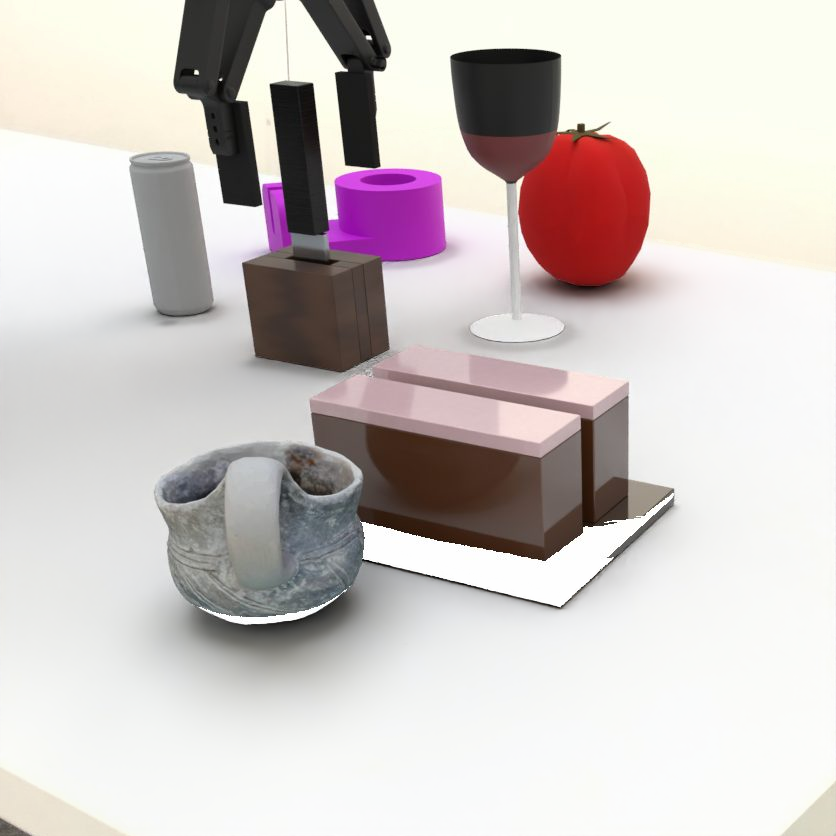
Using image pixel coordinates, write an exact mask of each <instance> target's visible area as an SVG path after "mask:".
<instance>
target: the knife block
mask: <svg viewBox="0 0 836 836" xmlns="http://www.w3.org/2000/svg"><path fill="white" fill-rule="evenodd" d="M329 251H330V260H331V265H323V264H316V263H310V262H303V261H296V260H294V256H293V248H292V245H290V246H287V247H284V248H282V249H279V250H276V251H274V252H272V251H271V252H268V253H266V254H263V255H259V256H256V257H254V258H251V259H249V260H245V261H242V262H241V267H242V274H243V280H244V288H245V294H246V302H247V308H248V315H249V322H250V329H251V335H252V345H253V349H254V356H255V357H258V358H263V359H268V360H269V359H270V360H274V361H281V362H285V363H289V364H290V363H291V364H296V365H301V366H307V367H313V368H318V369H324V370H330V371H333V372H339V373H344V372H345V371H346V372H347V370H349V369H351V368H354V367H356V366H357V365H360V364H361V363H363V362H365V361H367V360H369V359H372V358H374V357H376V356H378V355H380V354H381V353H384V352H386V351H387V350H390V339H389V327H388V315H387V304H386V292H385V283H384V272H383V261H382V259H381V256H374V255H367V254H360V253H353V252H346V251H339V250H332V249H329Z"/></svg>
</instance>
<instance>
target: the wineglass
mask: <svg viewBox="0 0 836 836" xmlns="http://www.w3.org/2000/svg"><path fill="white" fill-rule="evenodd" d="M449 63H450V74H451V84H452V91H453V99H454V101H453V102H454V107H455V113H456V118H457V119H456V120H457V123H458V128H459V131H460V135H461V137H462V140H463V144H464V146H465V149H466V150H467V152H468V154H469V155H470V156H471V158H472V159H473V160H474V161H475V162H476V163H477V164H478V165H479V166H481V167H482V168H483V169H485V170H486V171H488V172H489V173H492V174H493V175H495V176H496V177H498V178H499V179H501V180H502V181H504V182H505V185H506V187H505V188H506V208H507V209H506V210H507V229H508V253H509V255H508V256H509V275H510V276H509V278H510V300H511V301H510V302H511V312H509V313H500V314H495V315H488V316H486V317H483V318H480V319H477V320H476V321H474V322H473V323H471V325H470V328H469V330H470V332H471V333H472V334H473V335H475V336H477V337H479V338H482V339H486V340H489V341H495V342H503V343H525V342H526V343H527V342H536V341H541V340H546V339H549V338H552V337H555V336H557V335H559V334H560V333H562V332H563V331H564V329H565V324H564V323H563V322H562V320H560V319H558V318H555V317H553V316H549V315H545V314H540V313H532V312H524V313H523V312H522V293H521V268H520V267H521V266H520V265H521V264H520V243H519V241H520V240H519V239H520V238H519V215H518V190H517V183H518V181H519V180H521V179H522V178H524V175H526V174H527V173H529V172H530V171H532V170H533V169H535V168H536V167H537V166H538V165H539V164H540V163H542V162H543V160H544V159H545V158H546V157H547V156H548V154H549V153H550V151H551V149H552V146H553V144H554V141H555V137H556V134H557V132H558V130H559V122H560V115H561V114H560V112H561V111H560V110H561V99H562V97H561V95H562V54H560V53H559V52H556V51H552V50H545V49H537V48H515V47H514V48H512V47H510V48H505V47H504V48H484V49H482V48H481V49H472V50H466V51H460V52H455V53H453V54H451V55H450V56H449Z"/></svg>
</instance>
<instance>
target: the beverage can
mask: <svg viewBox="0 0 836 836" xmlns="http://www.w3.org/2000/svg"><path fill="white" fill-rule="evenodd" d="M129 163H130V164H129V167H128V168H129V176H130V182H131V188H132V193H133V198H134V203H135V209H136V215H137V220H138V225H139V231H140V237H141V242H142V248H143V254H144V259H145V265H146V270H147V271H146V272H147V276H148V281H149V287H150V292H151V299H152V303H153V306H154V307H155V308H156V309H157V310H158V311H159V312H160V313H161V314H164V315H168V316H176V317H177V316H178V317H179V316H181V317H182V316H192V315H197V314H201V313H204V312H206V311H208V310H210V309H211V307H212V305H213V303H214V301H215V299H214V292H213V286H212V278H211V271H210V264H209V258H208V252H207V246H206V240H205V232H204V226H203V219H202V213H201V207H200V200H199V194H198V187H197V182H196V175H195V169H194V168H195V167H194V164H193V162H191V155H190V154H189V153H188V152H181V151H167V150H166V151H165V150H164V151H150V152H143V153H138V154H134V155H131V156H130V157H129Z"/></svg>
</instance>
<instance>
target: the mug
mask: <svg viewBox="0 0 836 836" xmlns="http://www.w3.org/2000/svg"><path fill="white" fill-rule="evenodd" d="M362 485H363V474H362V471H361V470H360V469H359V468H358V467H357V466H356V465H355V464H354V463H352V462H351V461H350V460H349V459H347V458H346V457H344V456H343V455H341V454H339V453H337V452H334V451H330V450H327V449H324V448H321V447H318V446H315V444H311V443H307V442H300V441H294V440H288V439H287V440H284V441H282V442H280V441H277V440H255V441H249V442H243V443H237V444H233V445H230V446H229V445H228V446H224V447H219V448H215V449H213V450H209V451H208V452H205V453H204V454H199V455H197V456H194V457H192V458H190V459H189V460H187V461H186V462H185V463H183V464H181V465H179V466H176V467H175V468H173V469H172V470H170V471H169V472H167V473H165V474H163V475H161V476H160V478H159V479H158V481H157V482H156V483H155V485H154V489H153V497H154V501H155V504H156V507H157V509H158V510H159V512H160V514H161V516H162V518H163V520H164V523H165V524H166V526H167V528H168V537H167V541H166V547H167V549H166V553H167V562H168V566H169V572H170V575H171V578H172V581H173V583H174V584H175V587H176V589H177V590H178V592H179V593H180V595H181V596H182V597H183V599H185V600H186V601H187V602H188V603H190V604H191V605H192V604H193V605H192V606H194V605H195V606H194V607H196V606H198V607H202V608H204V609H206V610H207V609H208V610H210V611H212V612H216V613H219V614H220V613H221V614H226V615H229V616H230V615H231V616H240V617H241V616H242V617H268V616H276V615H285V614H287V613H297V612H299V611H305V610H309V609H311V608H314V607H318V606H320V605H322V604H325V603H326V602H328V601H330V600H332V599H333V598H335V597H336V596H338V595H340V594H341V593H342V592H343V591H344V590H346V589H347V588H348V587H349V586H351V585H352V586H353V585H354V583H355V581H356V579H357V576H358V574H359V571H360V568H361V565H362V563H363V560H362V558H363V550H364V539H365V537H364V532H363V526H362V523H361V522H360V518H359V516H358V515H357V508H358V504H359V500H360V496H361V490H362ZM352 586H351V587H352Z"/></svg>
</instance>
